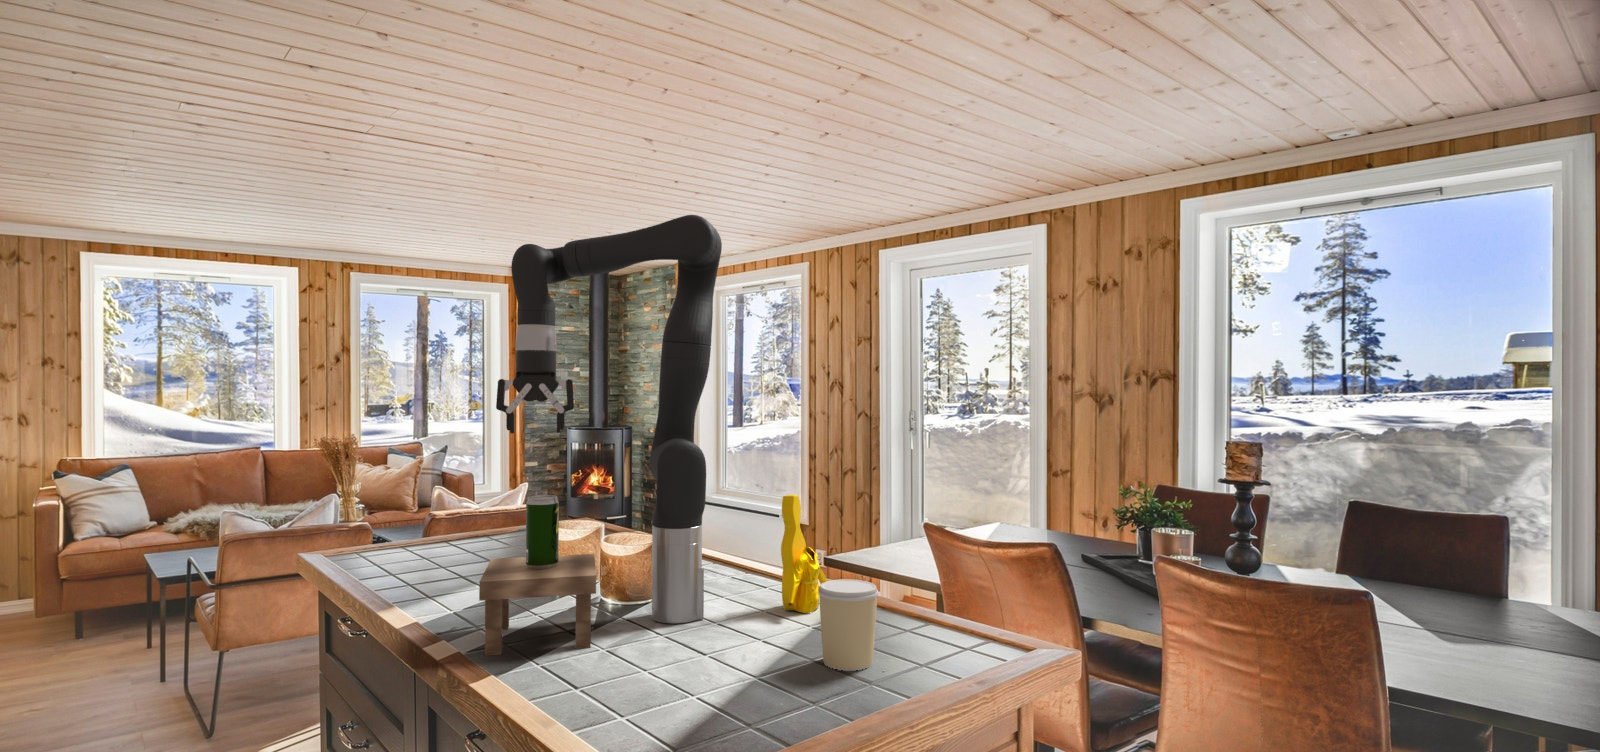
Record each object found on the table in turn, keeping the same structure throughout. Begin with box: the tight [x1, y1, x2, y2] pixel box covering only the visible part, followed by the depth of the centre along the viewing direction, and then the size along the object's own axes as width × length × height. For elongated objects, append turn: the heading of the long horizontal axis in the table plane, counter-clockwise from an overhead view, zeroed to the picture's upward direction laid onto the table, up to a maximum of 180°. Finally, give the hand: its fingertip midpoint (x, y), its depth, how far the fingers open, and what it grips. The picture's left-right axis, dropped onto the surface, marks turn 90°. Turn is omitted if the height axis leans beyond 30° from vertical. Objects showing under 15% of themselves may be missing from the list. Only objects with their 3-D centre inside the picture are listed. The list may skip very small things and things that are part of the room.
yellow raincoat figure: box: [780, 494, 828, 614], centre depth 159 cm, size 18×8×22 cm, turn 156°
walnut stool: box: [478, 553, 597, 656], centre depth 141 cm, size 18×18×12 cm
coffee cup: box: [818, 578, 879, 672], centre depth 128 cm, size 9×9×12 cm
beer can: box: [525, 494, 560, 570], centre depth 141 cm, size 5×5×12 cm
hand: (535, 432), depth 158 cm, fingers open, 8 cm apart
